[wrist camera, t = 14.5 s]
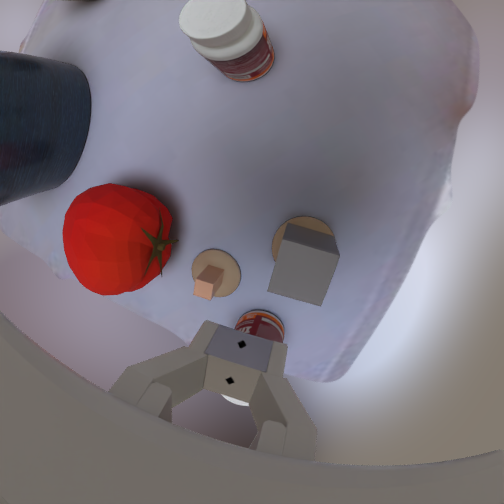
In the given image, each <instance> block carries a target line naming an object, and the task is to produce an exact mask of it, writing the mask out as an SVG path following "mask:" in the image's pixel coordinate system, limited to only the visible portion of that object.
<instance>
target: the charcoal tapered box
mask: <svg viewBox="0 0 504 504" xmlns="http://www.w3.org/2000/svg"><path fill="white" fill-rule="evenodd" d="M339 258H340V254H339V251H338V248H337V244H336V241H335V238H334V236H332V235H329V234H325V233H322V232H319V231H315V230H312V229H309V228H305V227H302V226H298V225H295V224H291V223H287V226H286V229H285V232H284V235H283V238H282V242H281V245H280V249H279V252H278V256H277V259H276V263H275V266H274V270H273V273H272V277H271V280H270V284H269V287H268V290H267V291H268V292H272V293H275V294H279V295H282V296H286V297H289V298H293V299H296V300H300V301H303V302H307V303H310V304H314V305H318V306H321V305H322V302H323V300H324V297H325V295H326V292H327V290H328V287H329V284H330V282H331V279H332V277H333V274H334V271H335V269H336V266H337V263H338V260H339Z"/></svg>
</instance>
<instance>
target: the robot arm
mask: <svg viewBox="0 0 504 504" xmlns="http://www.w3.org/2000/svg"><path fill="white" fill-rule="evenodd" d="M287 348H288V346H287V344H284V343H280V342H276V341H271V340H267V339H264V338H260V337H257V336H253V335H250V334H247V333H244V332H241V331H238V330H235V329H232V328H229V327H226V326H223V325H219V324H217V323H214V322H211V321H209V320H206V321H204V323H203V324H202V326H201V327H200V329H199V331H198V332H197V334H196V336H195V337H194V339H193V341H192V342H191V344H190V345H189V347H185V346H183V347H181V348H178V349H176V350H173V351H171V352H168V353H165V354H162V355H160V356H157V357H154V358H152V359H149V360H146V361H143V362H140V363H137V364H135V365H132V366H129V367H127V368H126V369H125V371H124V372H123V373H122V375H121V376H120V377H119V378H118V380H117V381H116V382H115V383H114V385H113V386H112V387H111V389H110V390H109V391H108V392H107V391H105V390H104V389H102V388H100V387H99V386H97V385H95V384H94V383H92V382H90V381H89V380H87V379H86V378H84V377H82V376H81V375H79V374H78V373H76V372H75V371H73V370H72V369H70V368H69V367H68V366H66V365H65V364H63V363H62V362H60V361H59V360H58V359H56V358H55V357H53V356H52V355H51V354H50V353H48V352H47V351H46V350H44V349H43V348H42V347H40V346H39V345H38V344H37V343H35V342H34V341H33V340H32V339H31V338H29V337H28V336H27V335H26V334H25V333H24V332H22V331H21V330H20V329H19V328H18V327H17V326H16V325H15V324H13V323H12V322H11V321H10V320H9V319H8V318H7V317H6V316H5V315H4V314H3V313H2V312H1V311H0V504H504V450H495V451H492V452H488V453H484V454H480V455H476V456H471V457H466V458H461V459H455V460H449V461H442V462H434V463H425V464H414V465H395V466H365V465H345V464H333V463H323V462H315V452H316V440H317V428H316V426H315V425H314V423H313V422H312V420H311V418H310V417H309V415H308V413H307V412H306V410H305V408H304V407H303V405H302V403H301V402H300V400H299V398H298V397H297V395H296V393H295V392H294V390H293V388H292V387H291V385H290V383H289V381H288V380H287V378H283V373H284V367H285V361H286V354H287ZM202 389H206V390H209V391H212V392H215V393H219V394H222V395H225V396H228V397H231V398H234V399H237V400H240V401H243V402H247V403H249V407H250V409H251V412H252V415H253V418H254V421H255V424H256V426H257V429H258V433H257V435H256V437H255V439H254V440H253V442H252V444H251V446H250V447H249V449H248V448H244V447H240V446H236V445H233V444H229V443H226V442H223V441H220V440H216V439H213V438H210V437H207V436H204V435H202V434H198V433H196V432H193V431H190V430H188V429H185V428H183V427H180V426H178V425H175V424H173V423H172V408H173V407H174V406H176V405H178V404H180V403H181V402H183V401H185V400H186V399H188V398H190V397H191V396H193V395H195V394H196V393H198V392H199V391H201V390H202Z"/></svg>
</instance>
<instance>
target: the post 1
mask: <svg viewBox="0 0 504 504" xmlns="http://www.w3.org/2000/svg"><path fill="white" fill-rule="evenodd" d="M192 276H193V279H194V281H195V287H194V294H193V295H196V296H199V297H202V298H205V299H208V300H211V299H212V298H213V296H214V297H224V296H227V295H230V294H231V293H233V292H234V291H235V290H236V288H237V287H238V285H239V283H240V279H241V272H240V268H239V265H238V264H237V262H236V260H235V259H234V258H233V257H232V256H231V255H230V254H228V253H226V252H224V251H222V250H218V249H209V250H206V251H204V252H202V253H200V254H199V255H198V256H197V257H196V258H195V260H194V262H193V265H192Z"/></svg>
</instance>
